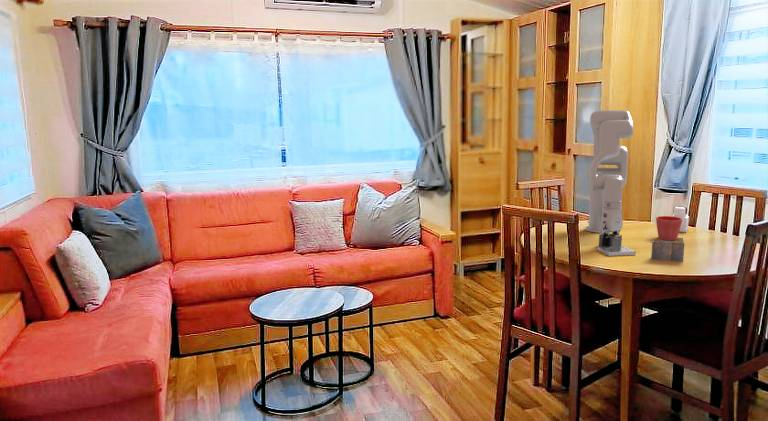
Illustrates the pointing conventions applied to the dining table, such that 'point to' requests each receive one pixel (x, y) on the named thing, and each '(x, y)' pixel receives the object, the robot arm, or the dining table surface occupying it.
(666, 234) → the flower pot
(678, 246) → the ruin model on sheet
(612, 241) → the gray rectangular sleeve
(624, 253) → the post
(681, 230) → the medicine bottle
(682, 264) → the dining table surface
